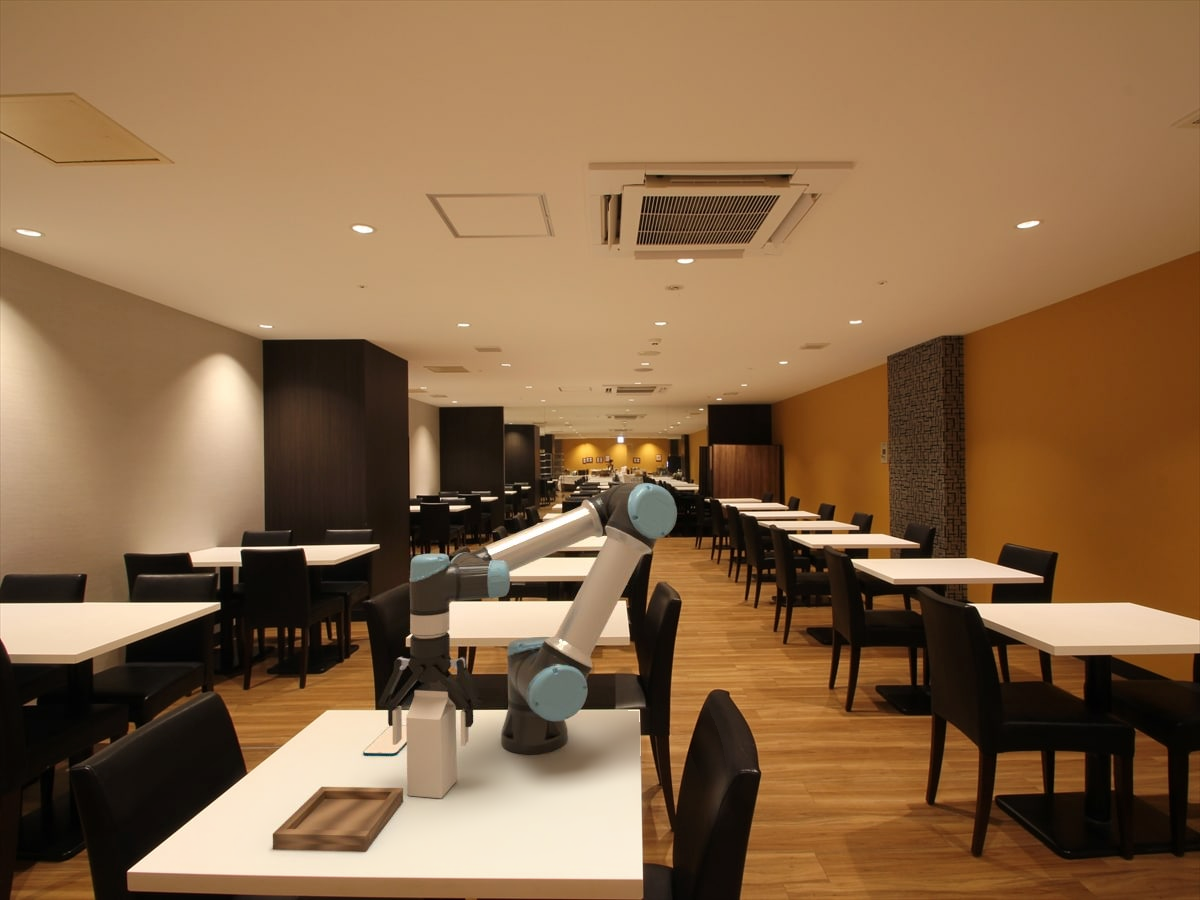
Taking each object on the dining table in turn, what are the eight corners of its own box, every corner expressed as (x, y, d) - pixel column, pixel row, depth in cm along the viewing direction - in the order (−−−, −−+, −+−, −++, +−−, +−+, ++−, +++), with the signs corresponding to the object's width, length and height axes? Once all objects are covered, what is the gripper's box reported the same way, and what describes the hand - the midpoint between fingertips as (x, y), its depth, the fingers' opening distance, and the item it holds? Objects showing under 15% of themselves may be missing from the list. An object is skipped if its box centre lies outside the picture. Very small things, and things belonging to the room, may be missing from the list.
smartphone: (390, 729, 159) (361, 757, 143) (390, 725, 159) (361, 753, 143) (422, 729, 159) (396, 757, 143) (422, 725, 159) (396, 753, 143)
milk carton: (441, 799, 123) (440, 698, 124) (407, 796, 125) (405, 696, 125) (457, 781, 130) (455, 685, 131) (424, 779, 132) (422, 684, 132)
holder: (403, 801, 123) (402, 788, 123) (365, 851, 107) (365, 835, 107) (321, 799, 124) (321, 786, 124) (272, 849, 108) (272, 833, 108)
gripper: (496, 629, 131) (497, 735, 131) (376, 628, 133) (377, 733, 133) (487, 638, 124) (488, 752, 123) (360, 638, 126) (360, 749, 125)
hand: (430, 742), depth 128 cm, fingers open, 13 cm apart
